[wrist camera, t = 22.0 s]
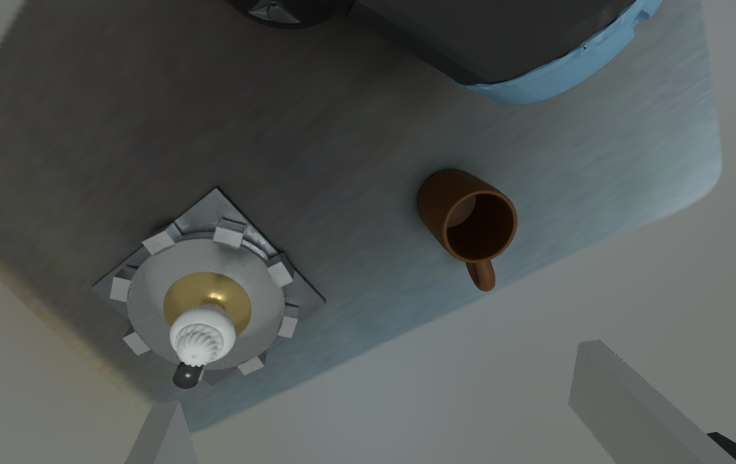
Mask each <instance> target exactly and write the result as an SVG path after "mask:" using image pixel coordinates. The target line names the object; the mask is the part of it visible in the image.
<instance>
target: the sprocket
mask: <svg viewBox="0 0 736 464" xmlns="http://www.w3.org/2000/svg"><path fill="white" fill-rule="evenodd" d="M245 229H246V225H242V224H238V223H235V222H231V221H228V220H224V219H221V221H220V222H219V224H218V225H217V227H216V231H215V232H196V233H189V234H185V235H182V234H181V233H180V231H179V230H178V229H177V227H176V226H175V224H174V223H171V224H169V225H167V226H165V227H163V228H161V229H159V230H157V231H155V232H152V233H151V234H150V235H149V236H147V237H146V238H145V239H144V240H143V241H142V243H143V244H144V246H145V247H146V248H147V250H148V251H149V252H150V254H151V255H150V256H149V257H148V258H147V259H146V260H145V261H144V262H143V263H142V265H141V266H140V267H139V268H138V269H134V268H130V267H126V266H124V267H123V268H122V269H121V270H120V271H119V272H118V273H117V274H116V275H115V276H114V278H113V283H112V289H111V294H110V299H114V300H119V301H123V302H127V310H128V315H129V319H130V321H131V324H132V326H131V327H130V328H129V330H128V331H127V332H126V334H125V335H124V336H123V340H124V341H125V342H126V343H127V344H128V345H129V346H130V347H131V348H132V350H133V351H134V352H135V353H136V354H137V355H140V354H142V353H144V352H146V351H148V350H150V349H151V350H153V351H154V352H155V353H156V354H158V355H160V356H161V357H163V358H164V359H166V360H169V361H171V362H173V363H175V364H178V368H177V370H176V372H175V374H174V376H173V382H174V384H175V385H176V386H178V387H180V388H183V389H189V388H192V387H194V386H195V385H196V384H197V382H198V380H199V381H201V380H202V377H203V374H204V371H205V370H218V369H226V368H231V367H235V366H238V368H239V369H240V370H241V372H242V373H243V374H244V375H247V374H249V373H251V372H253V371H255V370H257V369H259V368H261V367H264V366H265V359H266V351H265V350H266V349H267V348H268V347H269V346H270V345H271V343H272V342H273V341H274V340H275V338H276V336H277V335H279V336H284V337H288V338H292V335H293V332H294V329H295V326H296V324H297V321H298V309H299V308H297V307H293V306H289V305H285V301H286V295H285V287H284V285H286V284H288V283H290V282H292V281H294V270H293V268H292V266H291V265H290V263H289V261H288V260H287V258H286V257H285V255H284V253H281V254H279V255H277V256H274V257H272V258H269V257H268V256H267V255H266V254H265V253H264V252H263V251H261V250H260V249H259V248H258V247H256V246H254V245H253V244H251V243H250V242H247V241H245V240H243V236H244V233H245ZM209 303H211V304H212V303H213V304H216V305H219V306H221V307H222V308H223V309H224V310H225V311H226V313H227V314H228V315H229V317H230V318H231V320H232V322H233V326H234V328H235V332H236V339H235V342H234V345H233V347H232V348H231V350H230V351H229V352H228V353H227V354H226V355H225V356H224V357H222V358H220V359H218V360H216V361H213V362H209V363H207V365H203V364H202V365H201V366H200V367H198V366H197V365H195V366H194V367H192V366H191V365H186V364H185V363H184V362H182V361H181V360H180V359H179V356H178V355H177V352H176V351H175V350H174V348H173V347H172V345H171V342H170V329H171V327H172V325H173V323H174V322H175V320H176V319H177V318H178V317H179V316H180V315H181V314H182V313H184V312H185V311H187V310H188V309H191V308H192V307H196V306H199V305H203V304H209Z"/></svg>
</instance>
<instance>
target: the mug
mask: <svg viewBox="0 0 736 464" xmlns="http://www.w3.org/2000/svg"><path fill="white" fill-rule="evenodd" d="M418 211H419V214H420V217H421V219H422V221H423V222H424V224H425V225H426V226H427V227H428V229H429V230H430V231H431V233H432V234H433V235H434V237H435V238H436V239H437V240H438V241H439V243H440V244H441V245H442V246H443V247H444V248H445V249H446V250H447V251H448V252H449V253H450V254H451V255H452V256H454V257H455V258H457V259H458V260H461V261H463V262H465V263H466V266H467V269H468V272H469V274H470V276H471V278H472V280H473V282H474V284H475V285H476V286H477V288H478V289H480V290H482V291H485V292H487V291H490V290H492V288H493V287H494V286H495V274H494V270H493V267H492V264H491V261H490V260H491V259H493V258H495V257H496V256H498V255H499V254H501V253H502V252H503V251H504V250H505V249H506V248H507V247H508V245H509V244H510V243H511V241H512V239H513V237H514V235H515V232H516V228H517V214H516V210H515V208H514V206H513V204H512V202H511V201H510V200H509V199H508V198H507V197H506V196H505V195H504V194H502V193H501V192H500V191H499V190H497V189H496V188H494V187H493V186H491V185H489V184H488V183H486V182H484V181H482V180H480V179H479V178H477V177H475V176H473V175H471V174H469V173H467V172H465V171H462V170H457V169H449V170H444V171H441V172H438V173H436V174H435V175H433V176H432V177H430V178H429V179H428V180H427V181H426V183H425V184H424V185H423V187H422V189H421V191H420V193H419V197H418Z"/></svg>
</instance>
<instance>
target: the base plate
mask: <svg viewBox="0 0 736 464" xmlns="http://www.w3.org/2000/svg"><path fill="white" fill-rule="evenodd" d="M221 219H224V220H228V221H231V222H235V223H238V224H242V225H246V229H245V233H244V236H243V240H245V241H247V242H250V243H251V244H253V245H254V246H256V247H258V248H259V249H260V250H261V251H263V252H264V253H265V254H266V255H267V256H268V257H269V258H272V257H274V256H277V255H279V254H281V252H280V251H279V250H278V249H277V248H276V247H275V246H274V245H273V244H272V243H271V242H270V241H269V240H268V239H267V237H266V236H265V235H264V234H263V233H262V232H261V231H260V230H259V229H258V228H257V227H256V226H255V225H254V224H253V223H252V222H251V221H250V220H249V219H248V217H247V216H246V215H245V214H244V213H243V212H242V211H241V210H240V209H239V208H238V207H237V206H236V205H235V204H234V203H233V202H232V201H231V200H230V199H229V198H228V196H227V195H226V194H225V193H224V192H223V191H222V190H221V189H220V188H219V187H218V186H217V187H216V188H215V189H214V190H212V191H211V192H210V193H209V194H207V195H206V196H205V197H204V198H202V199H201V200H200V201H199V202H197V203H196V204H195V205H194V206H192V207H191V208H190V209H189V210H187V211H186V212H185V213H184V214H182V215H181V216H180V217H179V218H177V219H176V220H175V221H174V222H172V223H174V224H175V226H176V227H177V229H178V230H179V231H180V233H181V234H182V235H185V234H189V233H196V232H215V231H216V227H217V225H218V224H219V222H220V221H221ZM150 255H151V254H150V252H149V251H148V250H147V248H146V247H145V246H143V247H141V248H140V249H139V250H138V251H136V252H135V253H134V254H133V255H131V256H130V257H129V258H128V259H126V260H125V261H124V262H123V263H121V264H120V265H119V266H118V267H116V268H115V269H114V270H113V271H111V272H110V273H109V274H108V275H106V276H105V277H104V278H103V279H101V280H100V281H99V282H98V283H96V284H95V285H94V286H93V287H92V288H91V289H90V290H91V291H92V292H94V293H95V294H96V295H98V296H99V297H100V298H101V299H103V300H104V301H105V302H106V303H108V304H109V305H110V306H111V307H113V308H114V309H115V310H117V311H118V312H119V313H120V314H122V315H123V316H124V317H125V318H127V319H128V320H129V321H130V319H129V315H128V310H127V302H123V301H119V300H114V299H110V294H111V289H112V283H113V278H114V276H115V275H116V274H117V273H118V272H119V271H120V270H121V269H122V268H123V267H124V266H126V267H130V268H134V269H138V268H139V267H140V266H141V265H142V263H143V262H144V261H145V260H146V259H147V258H148V257H149V256H150ZM289 263H290V262H289ZM290 265H291V266H292V268H293V270H294V281H292V282H290V283H288V284H286V285H284V287H285V295H286V301H285V305H289V306H293V307H297V308H299V309H298V321H297V324H298V323H299V322H301V321H302V320H303V319H305V318H306V317H307V316H309V315H310V314H312V313H313V312H314V311H316V310H317V309H318V308H320V307H321V306H323V305H324V304H325V303H326V299H325V298H324V297H323V296H322V295H321V294H320V293H319V292H318V291H317V290H316V289H315V288H314V287H313V286H312V285H311V284H310V283H309V282H308V281H307V280H306V278H305V277H304V276H303V275H302V274H301V273H300V272H299V271H298V270H297V269H296V268H295V267H294V266H293V265H292V264H291V263H290ZM297 324H296V325H297ZM279 337H280V336H279V335H277V336H276V338H275V340H276V339H277V338H279ZM275 340H274V341H275ZM236 368H238V366H235V367H231V368H226V369H218V370H205V371H204V374H203V377H202V378H203V379H204V380H205V381H207V382H208V383H209V384H210V385H212V386H213V385H214V384H216V383H217V382H218V381H220V380H221V379H223V378H224V377H225V376H227V375H228V374H229V373H231V372H232V371H233V370H235V369H236Z"/></svg>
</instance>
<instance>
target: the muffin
mask: <svg viewBox="0 0 736 464" xmlns="http://www.w3.org/2000/svg"><path fill="white" fill-rule="evenodd" d="M235 339H236V332H235V328H234V326H233V322H232V320H231V318H230V317H229V315H228V314H227V313H226V311H225V310H224V309H223V308H222V307H221V306H219V305H216V304H213V303H212V304H211V303H209V304H203V305H199V306H196V307H192V308H191V309H188V310H187V311H185V312H184V313H182V314H181V315H180V316H179V317H178V318H177V319H176V320H175V322H174V323H173V325H172V327H171V329H170V342H171V345H172V347H173V348H174V350H175V351H176V352H177V355H178V356H179V359H180V360H181V361H182V362H184V363H185V364H186V365H191V366H192V367H194V366H195V365H197V366H198V367H200V366H201V365H202V364H203V365H207V363H209V362H213V361H216V360H218V359H220V358H222V357H224V356H225V355H226V354H227V353H228V352H229V351H230V350H231V348H232V347H233V345H234V342H235Z"/></svg>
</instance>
